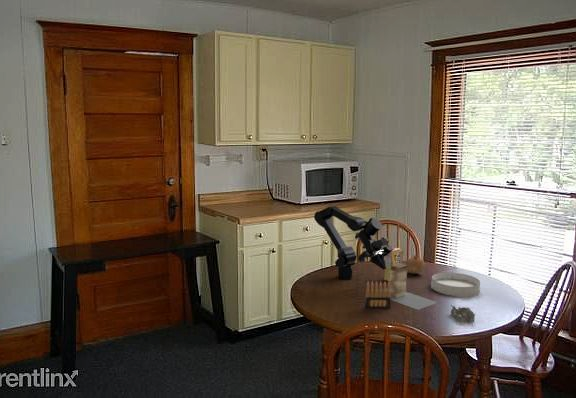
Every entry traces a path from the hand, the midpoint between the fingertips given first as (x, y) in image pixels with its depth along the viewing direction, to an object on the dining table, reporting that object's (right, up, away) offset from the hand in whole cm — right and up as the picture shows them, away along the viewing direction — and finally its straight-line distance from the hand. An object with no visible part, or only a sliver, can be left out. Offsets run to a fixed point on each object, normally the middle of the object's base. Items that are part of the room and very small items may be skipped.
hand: (385, 269), depth 242 cm
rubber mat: (+7, -12, -7) cm, 16 cm away
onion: (+21, -7, +29) cm, 36 cm away
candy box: (+8, -8, +19) cm, 22 cm away
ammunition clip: (-7, -14, -19) cm, 25 cm away
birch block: (+5, -11, -5) cm, 13 cm away
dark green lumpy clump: (+26, -16, -28) cm, 42 cm away
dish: (+34, -11, +6) cm, 37 cm away
